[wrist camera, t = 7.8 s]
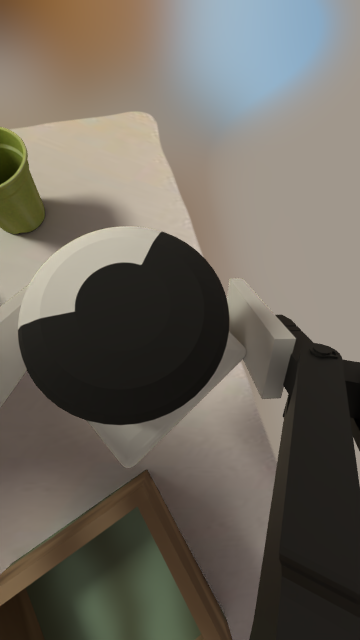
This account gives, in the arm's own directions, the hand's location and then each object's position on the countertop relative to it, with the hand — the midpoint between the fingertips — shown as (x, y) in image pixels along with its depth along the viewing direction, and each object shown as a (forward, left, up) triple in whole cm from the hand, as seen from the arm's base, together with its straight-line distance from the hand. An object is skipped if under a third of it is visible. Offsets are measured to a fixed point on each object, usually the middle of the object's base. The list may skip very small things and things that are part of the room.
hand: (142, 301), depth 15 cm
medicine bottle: (-2, -3, -5) cm, 6 cm away
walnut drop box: (-14, -17, -16) cm, 27 cm away
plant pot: (-6, +25, -16) cm, 31 cm away
